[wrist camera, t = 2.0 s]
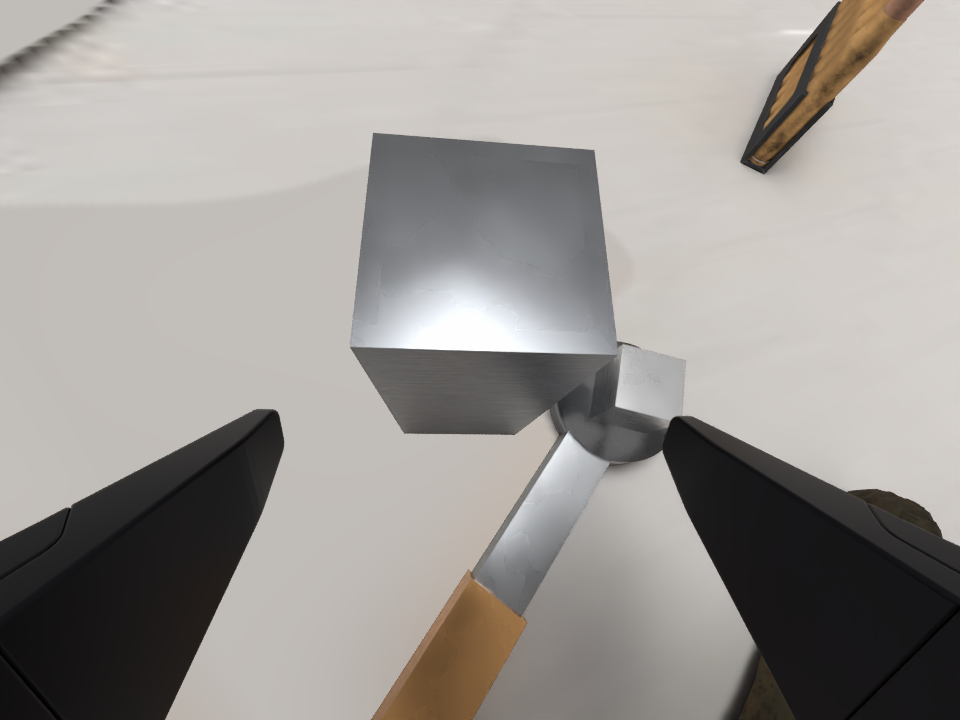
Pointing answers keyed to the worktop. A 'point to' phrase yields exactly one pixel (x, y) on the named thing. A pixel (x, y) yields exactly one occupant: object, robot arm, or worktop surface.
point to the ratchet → (537, 533)
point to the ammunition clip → (822, 73)
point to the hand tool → (765, 704)
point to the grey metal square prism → (480, 281)
